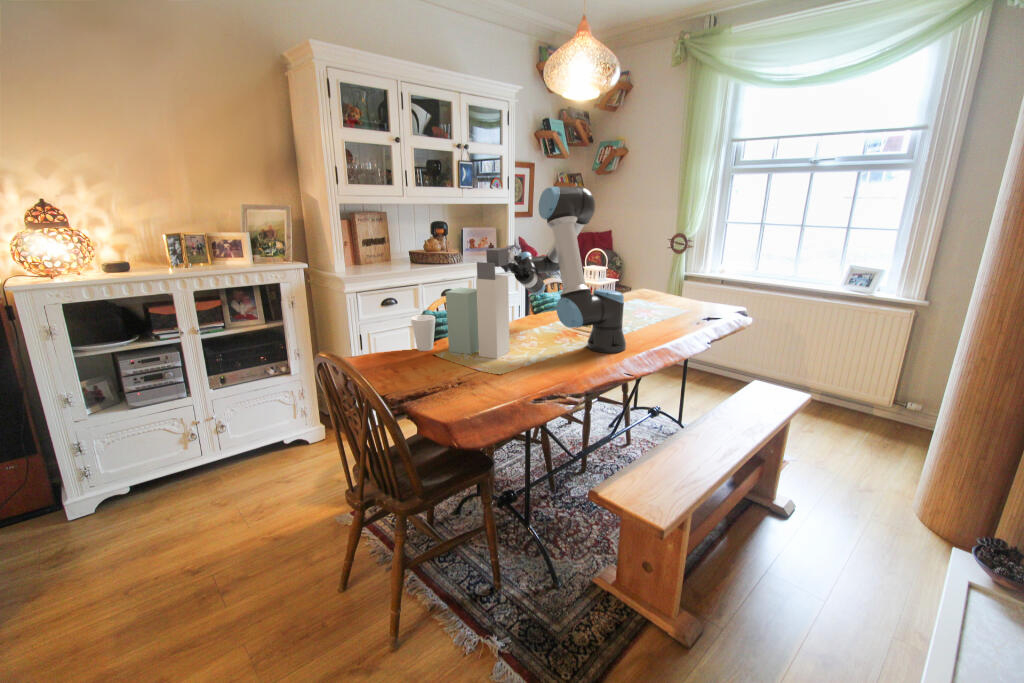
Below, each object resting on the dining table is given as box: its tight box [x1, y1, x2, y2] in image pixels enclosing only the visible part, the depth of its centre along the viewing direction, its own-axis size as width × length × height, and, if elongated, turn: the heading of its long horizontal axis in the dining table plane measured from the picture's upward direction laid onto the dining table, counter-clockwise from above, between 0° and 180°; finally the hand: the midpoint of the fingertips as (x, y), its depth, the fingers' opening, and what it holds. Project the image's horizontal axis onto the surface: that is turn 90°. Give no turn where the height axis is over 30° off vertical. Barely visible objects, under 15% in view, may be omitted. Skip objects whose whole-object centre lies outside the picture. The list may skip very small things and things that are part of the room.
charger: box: [485, 247, 518, 268], centre depth 181 cm, size 5×18×6 cm, turn 153°
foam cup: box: [410, 314, 436, 352], centre depth 190 cm, size 10×9×13 cm
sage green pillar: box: [445, 287, 479, 355], centre depth 186 cm, size 10×10×24 cm
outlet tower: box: [475, 261, 511, 360], centre depth 179 cm, size 8×10×36 cm
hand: (503, 253), depth 180 cm, fingers closed on charger, 5 cm apart
